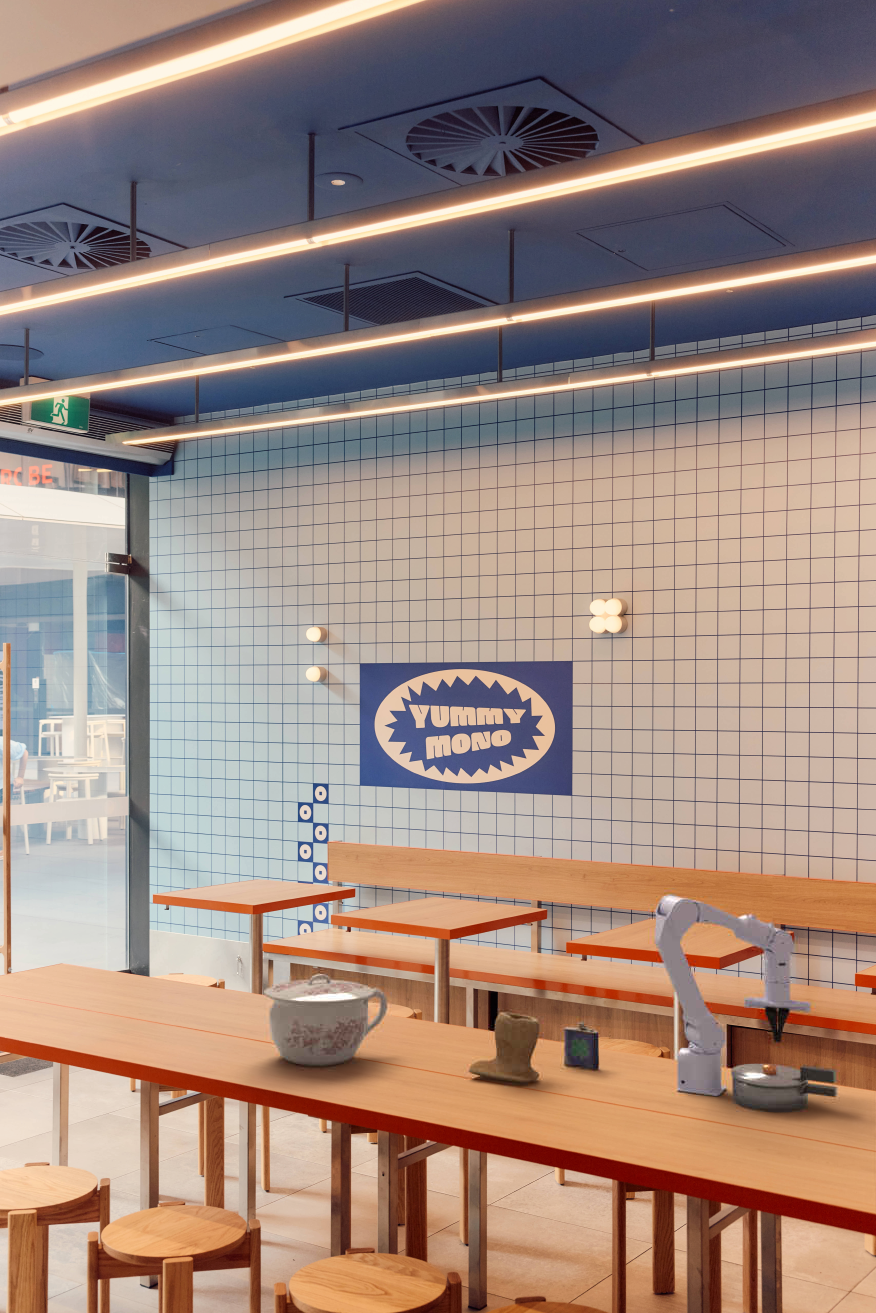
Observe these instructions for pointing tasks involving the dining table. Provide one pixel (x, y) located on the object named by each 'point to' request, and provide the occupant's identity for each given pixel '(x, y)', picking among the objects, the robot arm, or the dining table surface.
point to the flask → (581, 1047)
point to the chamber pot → (321, 1019)
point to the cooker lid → (781, 1075)
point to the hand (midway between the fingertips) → (777, 1041)
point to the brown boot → (511, 1049)
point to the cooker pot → (777, 1096)
